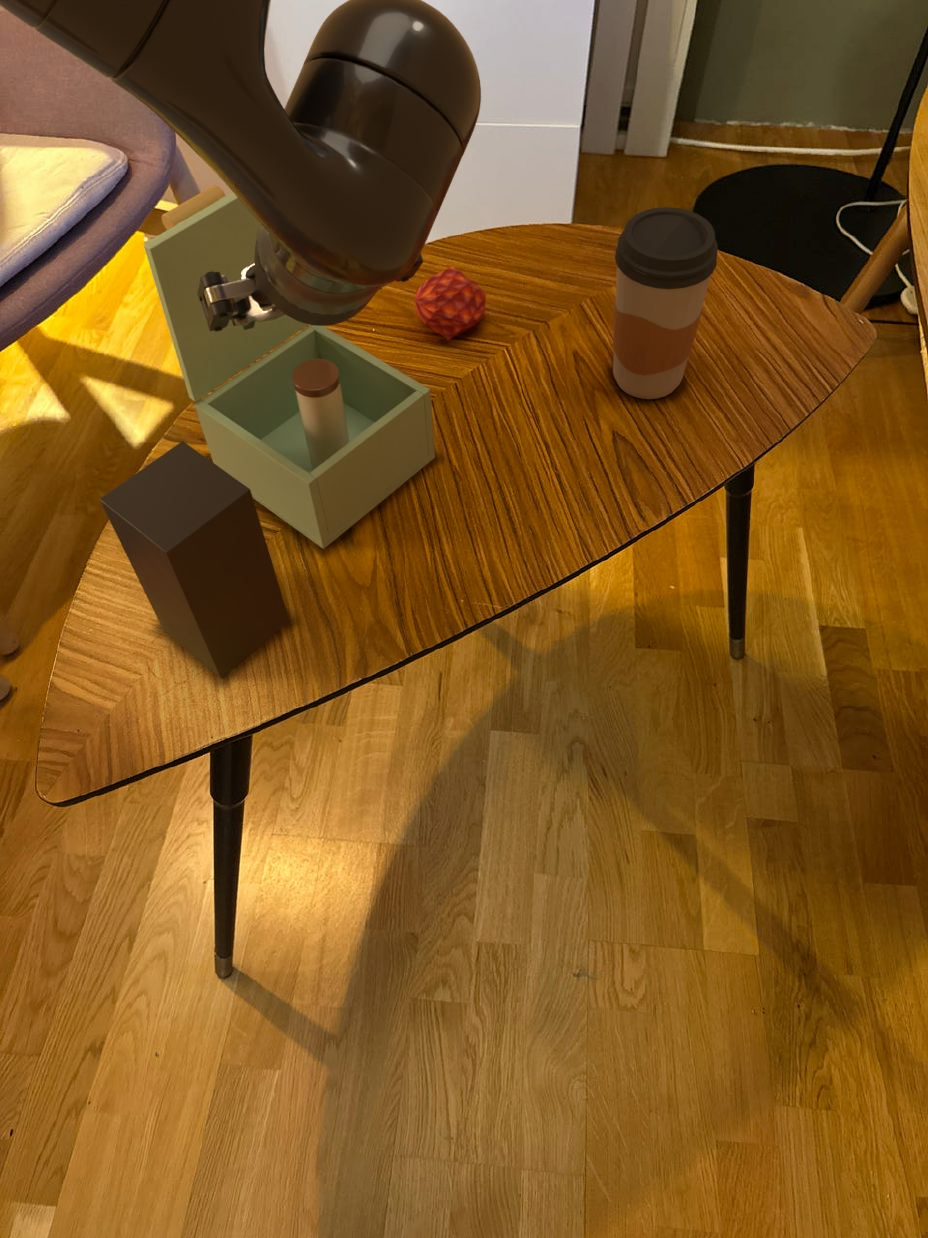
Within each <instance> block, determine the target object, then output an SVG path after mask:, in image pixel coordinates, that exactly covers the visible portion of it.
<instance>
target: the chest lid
mask: <svg viewBox="0 0 928 1238" xmlns="http://www.w3.org/2000/svg"><path fill="white" fill-rule="evenodd" d="M161 222H162V224H163V226H164V229H165V231H163V232H162V233H160V234H158V235H157V236H155V237H153V238H152V239H150V240H148V241H146V242H145V243H143V247H144V251H145V255H146V258H147V261H148V264H149V268H150V271H151V274H152V277H153V278H152V279H153V282H154V284H155V288H156V291H157V294H158V298H159V301H160V305H161V308H162V311H163V314H164V318H165V321H166V324H167V327H168V331H169V334H170V338H171V341H172V344H173V348H174V352H175V354H176V358H177V361H178V364H179V368H180V371H181V375H182V379H183V381H184V384H185V387H186V391H187V394H188V397H189V399H190V400H192V401H193V402H195V403H197V402H199V401H200V400H202V399H203V398H205V397H206V396H208V395H209V394H211V393H212V392H213V391H215V390H216V389H218V388H219V387H221V386H222V385H224V384H225V383H227V382H228V381H230V380H231V379H232V378H234V377H235V376H237V375H238V374H240V373H241V372H243V371H244V370H246V369H247V368H248V367H250V366H251V365H253V364H254V363H256V362H257V361H259V360H260V359H262V358H263V357H265V356H266V355H267V354H269V353H270V352H272V351H273V350H275V349H276V348H278V347H279V346H281V345H282V344H283V343H285V342H286V341H288V340H289V339H291V338H292V337H294V336H295V335H297V334H298V333H300V332H301V331H302V330H304V329H305V328H307V327H308V326H310V325H309V324H305V323H302V322H299V321H297V320H295V319H293V318H291V317H289V316H287V315H284V316H282V317H279V318H277V319H275V320H270V321H263V322H258V321H257V320H256V321H255V325H254V328H251V329H247V330H244V328H243V326H241V325H238V326H233V324H232V321H231V320H229V323H228V325H227V327H225V328H222V329H223V330H221V331H218V332H215V331H209V328H208V325H207V323H208V322H207V319H206V316H205V313H204V310H203V307H202V304H201V301H199V298H198V295H197V293H198V288H199V283H200V278H201V277H202V276H203V275H206V273H207V272H211V271H213V272H220V274H221V275H226V276H227V279H228V282H233V281H237V280H240V279H241V273H242V270H243V269H245V268H247V267H248V266H250V265H252V264H254V254H255V245H256V239H257V233H258V227H259V221H258V220H257V219H256V218H255V217H254V216H253V215H252V213H251V212H250V211H249V210H248V209H247V208H246V206H245V205H244V204H243V203H242V202H241V201H240V199H239V198H238V197H237V196H236V195H235V194H234V192H233V191H231V192H230V193H228V194H227V195H226V193H225V192H224V190H223V189H222V188H221V187H220V185H217V184H214V185H212V186H210V187H208V188H207V189H204V190H202V191H201V192H200V193H198V194H196V195H194V196H192V197H190V198H189V199H187V200H186V201H184V202H182V203H180V204H179V205H177V206H175V207H172V209H170V210H168V211H166V212H165V213H163V214H162V215H161ZM248 298H249V297H248ZM249 301H250V300H249ZM250 304H251V303H250ZM273 305H274V304H273ZM274 306H275V305H274Z"/></svg>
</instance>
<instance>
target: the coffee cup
mask: <svg viewBox="0 0 928 1238" xmlns="http://www.w3.org/2000/svg"><path fill="white" fill-rule="evenodd" d="M718 246H719V244H718V242H717V240H716V232H715V229H714V227H713V225H712V224H711V223H710V222H709V221H708V219H707V218H705V217H704V216H701V215H700V214H699V213H696V212H694V211H692V210H688V209H684V208H680V207H671V206H669V207H668V206H665V207H663V206H662V207H653V208H649V209H646V210H643V211H641V212H638V213H636V214H635V215H633V216H632V217H631V218H630V219H628V221H627V223H626V224H625V226H624V229H623V230H622V231H621V233H620V235H619V236H618V240H617V247H616V248H615V253H614V260H615V263H616V277H615V278H616V279H615V282H616V283H615V297H614V305H613V333H612V347H613V362H612V363H613V365H612V366H613V367H612V374H613V377H614V380H615V382H616V383H617V385H618V387H619V388H620V389H621V390H622V391H623V392H624V393H625V394H628V395H630V396H632V397H634V398H637V399H642V400H654V399H657V400H658V399H660V398H663V397H667V396H668V395H670V394H672V393H673V392H674V391H675V390H676V389H677V388H678V387H679V385H681V382H682V381H683V378H684V374H685V371H686V367H687V363H688V360H689V357H690V354H691V352H692V349H693V346H694V341H695V338H696V334H697V331H698V327H699V324H700V320H701V317H702V315H703V314H702V313H703V306H704V303H705V300H706V296H707V292H708V288H709V285H710V282H711V278H712V274H713V273H714V272H715V270H716V268H717V266H718V265H717V264H718V251H719V250H718V248H719V247H718Z"/></svg>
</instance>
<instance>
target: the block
mask: <svg viewBox="0 0 928 1238" xmlns="http://www.w3.org/2000/svg"><path fill="white" fill-rule="evenodd" d="M254 500H255V499H254V498H253V497H252V494H251V490H250V489H249V488H248V487H246V486H245V485H243V484H242V483H241V482H239V481H238V480H236V479H235V478H234V477H232V476H231V475H229V474H228V473H227V472H225V471H224V470H223V469H221V468H220V467H218V466H217V465H216V464H214V463H213V461H212V460H210V459H209V458H208V457H206V456H204V455H203V454H202V453H200V452H199V451H198V450H196V449H195V448H194V447H192V446H191V445H189V444H188V443H186V442H185V441H183V440H182V441H180V442H178V443H177V444H176V445H174V446H173V447H172V448H170V449H169V450H167V451H166V452H165V453H163V454H162V455H160V456H159V457H158V458H156V459H154V460H153V461H152V462H150V463H149V464H147V465H145V466H144V467H143V468H141V469H140V470H139V471H137V472H136V473H135V474H133V475H132V476H130V477H129V478H127V479H125V480H124V481H123V482H122V483H120V484H119V485H117V486H116V487H115V488H113V489H112V490H110V491H108V492H107V493H106V494H105V495H103V496H101V497H100V498H99V502H100V503H101V506H102V508H103V510H104V512H105V514H106V516H107V518H108V520H109V523H110V524H111V526H112V528H113V530H114V532H115V535H116V536H117V539H118V540H119V543H120V544H121V547H122V549H123V551H124V553H125V555H126V557H127V559H128V561H129V564H130V565H131V567H132V569H133V571H134V573H135V576H136V577H137V579H138V581H139V583H140V586H141V587H142V589H143V592H144V594H145V596H146V598H147V600H148V602H149V604H150V606H151V608H152V610H153V613H154V615H155V616H156V618H157V620H158V622H159V625H160V626H161V628H162V630H163V631H164V632H165V633H166V634H167V635H169V636H170V637H171V638H172V639H173V640H174V641H175V642H177V643H178V644H179V645H181V646H182V647H183V648H184V649H185V650H186V651H187V652H189V653H190V654H191V656H194V657H195V658H196V659H197V660H198V661H199V662H201V663H202V664H203V665H204V667H206V668H207V669H209V670H210V671H211V672H212V673H213V674H215V675H216V676H217V677H218V678H219V679H221V680H222V679H224V678H225V676H227V675H228V674H229V673H231V671H233V670H234V669H235V668H236V667H237V666H239V665H240V664H241V663H242V662H243V661H244V660H246V659H247V658H248V657H249V656H251V655H252V654H253V653H254V652H255V651H256V650H258V649H259V648H260V647H261V646H262V645H263V644H264V643H266V642H267V641H268V640H269V639H271V638H272V637H273V636H274V635H275V634H276V633H278V632H279V631H280V630H281V629H282V628H283V627H285V626H286V625H287V624H288V623H289V622H290V621H291V620H290V616H289V614H288V611H287V607H286V604H285V600H284V596H283V594H282V591H281V587H280V583H279V580H278V578H277V574H276V572H275V567H274V564H273V560H272V557H271V554H270V551H269V548H268V544H267V540H266V537H265V534H264V531H263V527H262V524H261V521H260V518H259V517H260V516H259V514H258V511H257V507H256V504H255V501H254Z"/></svg>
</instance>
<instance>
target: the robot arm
mask: <svg viewBox="0 0 928 1238" xmlns="http://www.w3.org/2000/svg"><path fill="white" fill-rule="evenodd" d="M271 1H272V0H0V7H1V8H2V9H4V10H6V11H7V12H8V13H10V14H12V15H13V16H15V17H16V18H17V19H18V20H20V21H21V22H23V23H25V25H27V26H29V27H31V28H34V30H35V31H37V32H38V33H39V34H41V35H43V36H44V37H46V38H47V39H48V40H50V41H52V43H54V44H56V45H58V46H59V47H60V48H62V49H63V50H65V51H66V52H68V53H69V54H70V55H73V56H74V57H75V58H77V59H78V60H80V61H81V62H83V63H84V64H85V65H87V66H88V67H90V68H91V69H94V71H96V72H97V73H99V74H100V75H102V76H104V77H105V78H109V80H111V82H113V83H114V84H115V85H117V86H118V87H119V88H121V89H123V90H124V91H126V92H127V93H128V94H130V95H131V96H133V97H134V98H135V99H137V100H138V101H139V102H140V103H142V104H143V105H144V106H146V108H148V109H149V110H151V112H152V113H154V115H156V116H157V117H158V118H159V119H160V120H162V121H163V122H164V123H165V125H167V126H168V127H169V128H170V129H171V130H172V131H173V132H174V133H176V135H177V136H179V138H181V139H182V140H183V141H184V142H185V143H186V145H188V146H189V147H190V149H191V150H193V152H195V153H196V155H198V156H199V157H200V158H201V159H202V161H204V162H205V164H207V165H208V167H209V168H210V169H211V170H212V171H213V172H214V173H215V174H216V175H217V176H218V177H219V178H220V179H221V180H222V182H223V183H224V184H225V185H226V186H227V187H228V188H229V189H230V190H231V192H234V194H235V195H236V196H237V197H238V198H239V199H240V201H241V202H242V203H243V204H244V205H245V206H246V208H247V209H248V210H249V211H250V212H251V213H252V215H253V216H254V217H255V218H256V219H257V220H258V221H259V227H258V233H257V239H256V245H255V254H254V264H252V265H250V266H248V267H247V268H245V269H243V270H242V273H241V279H240V280H237V281H233V282H228V279H227V276H226V275H221V274H220V272H213V271H211V272H207V273H206V275H203V276H202V277H201V278H200V283H199V288H198V293H197V295H198V298H199V301H201V304H202V307H203V310H204V313H205V316H206V319H207V322H208V323H207V325H208V328H209V331H215V332H218V331H221V330H223V329H222V328H225V327H227V325H228V323H229V320H231V321H232V324H233V326H238V325H241V326H243V328H244V330H247V329H251V328H254V325H255V321H256V320H257V321H258V322H263V321H270V320H275V319H277V318H279V317H282V316H284V315H287V316H289V317H291V318H293V319H295V320H297V321H299V322H302V323H305V324H309V325H308V326H310V325H316V326H324V327H326V326H327V327H328V326H334V325H338V324H341V323H344V322H346V321H348V320H350V319H352V318H354V317H355V316H357V315H358V314H359V313H360V312H362V311H363V310H364V308H366V306H367V305H368V304H369V303H370V302H371V300H372V299H373V298H374V297H375V295H376V294H377V293H378V292H379V291H380V290H383V288H385V287H386V286H388V285H389V284H392V283H394V282H397V283H398V282H401V283H406V282H408V281H410V279H411V278H413V277H414V276H415V275H416V273H418V271H419V269H420V267H421V266H422V265H423V263H424V259H423V256H422V251H423V250H424V248H425V245H426V243H427V240H428V238H429V236H430V234H431V232H432V229H433V227H434V223H435V222H436V219H437V217H438V215H439V212H440V210H441V207H442V205H443V203H444V201H445V198H446V196H447V193H448V191H449V189H450V187H451V184H452V182H453V179H454V177H455V175H456V173H457V171H458V168H459V166H460V163H461V161H462V159H463V157H464V155H465V152H466V150H467V147H468V145H469V143H470V141H471V139H472V136H473V134H474V132H475V129H476V126H477V125H476V124H477V122H478V120H479V115H480V112H481V111H480V110H481V104H482V88H481V87H482V86H481V79H480V72H479V69H478V65H477V62H476V59H475V57H474V55H473V54H474V53H472V50H471V48H470V46H469V45H468V42H467V41H466V39H465V38H464V36H463V35H462V33H461V32H460V30H459V29H458V28H457V27H456V26H455V24H454V23H453V22H452V21H451V20H450V19H449V18H448V17H447V15H445V14H443V13H442V12H441V11H440V10H438V9H437V8H435V7H433V5H431V4H430V3H427V2H426V1H424V0H347V1H345V2H344V3H342V4H341V5H339V6H338V7H336V8H335V9H333V11H332V12H331V13H330V14H329V15H328V16H327V17H326V19H324V21H323V22H322V24H321V25H320V27H319V29H318V31H317V33H316V35H315V36H314V38H313V41H312V43H311V46H310V47H309V50H308V52H307V54H306V57H305V60H304V62H303V64H302V66H301V69H300V72H299V73H298V76H297V79H296V81H295V83H294V86H293V88H292V90H291V92H290V95H289V97H288V99H287V101H286V104H285V107H283V104H282V102H281V101H280V99H279V98H278V95H277V94H276V92H275V90H274V88H273V86H272V83H271V81H270V79H269V76H268V74H267V69H266V51H265V48H266V38H267V37H266V36H267V30H268V23H269V16H270V10H271ZM248 297H249V298H248ZM249 300H250V301H249ZM250 303H251V304H250ZM273 304H274V305H275V306H274V305H273Z"/></svg>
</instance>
